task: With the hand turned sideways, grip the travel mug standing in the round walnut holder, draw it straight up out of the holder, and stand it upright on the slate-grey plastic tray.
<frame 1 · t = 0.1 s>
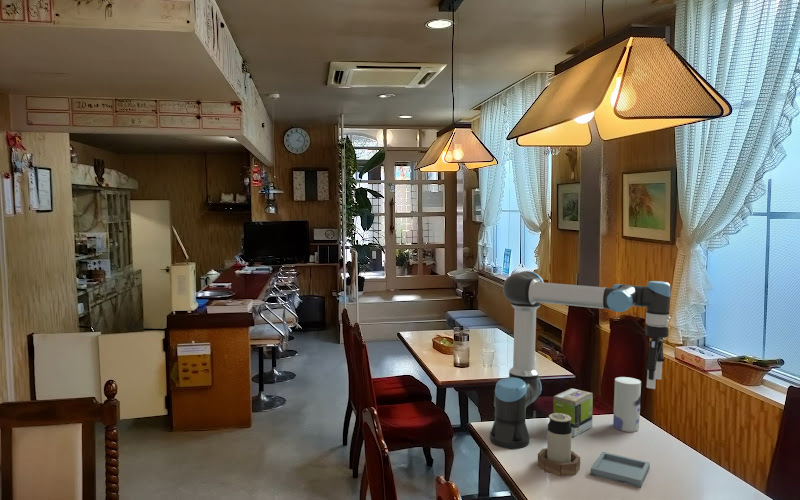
hand: (654, 383, 207), 28 cm above the table, tool pointing down, fingers open, 13 cm apart
mug holder: (558, 466, 202), on the table
tea box: (572, 429, 237), on the table
container: (626, 427, 239), on the table
travel mug: (558, 467, 202), resting in mug holder
tray: (620, 472, 199), on the table
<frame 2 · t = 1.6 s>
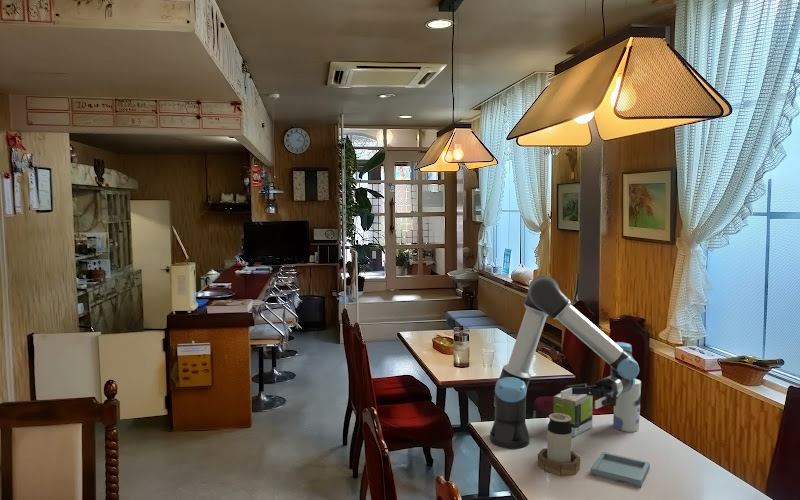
hand: (578, 400, 206), 22 cm above the table, tool horizontal, fingers open, 13 cm apart
nothing on the table moved.
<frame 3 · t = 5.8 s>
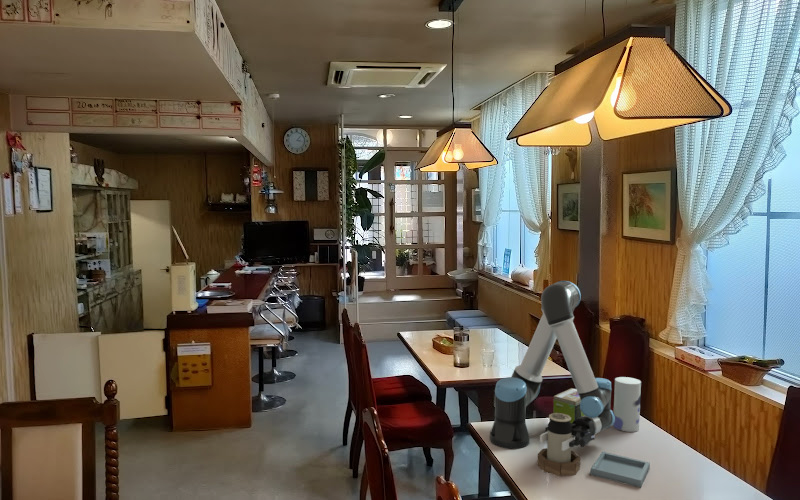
hand: (551, 442, 198), 10 cm above the table, tool horizontal, fingers closed on travel mug, 8 cm apart
travel mug: (558, 467, 202), resting in mug holder, touching gripper
everything else where it was.
when the fingers open (12 cm above the table, at t = 11.3 s): travel mug drops 1 cm, resting on tray.
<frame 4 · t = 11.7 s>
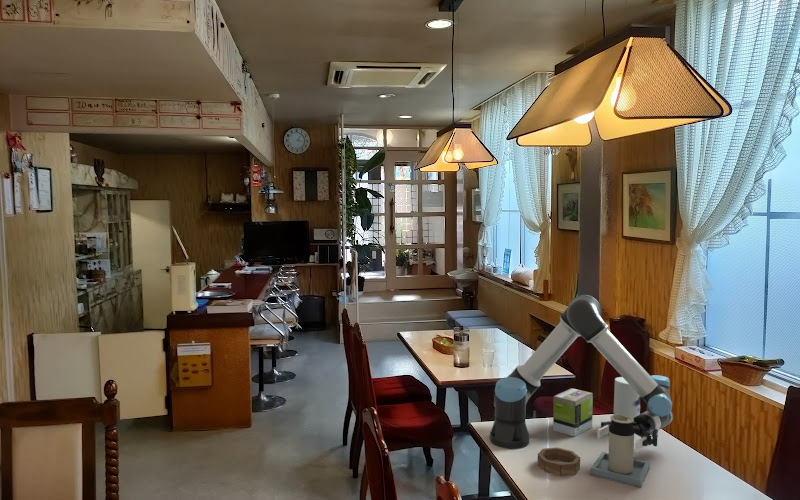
hand: (617, 439, 196), 12 cm above the table, tool horizontal, fingers open, 13 cm apart
travel mug: (620, 470, 199), point 1 cm above the table, touching tray
everything else where it was.
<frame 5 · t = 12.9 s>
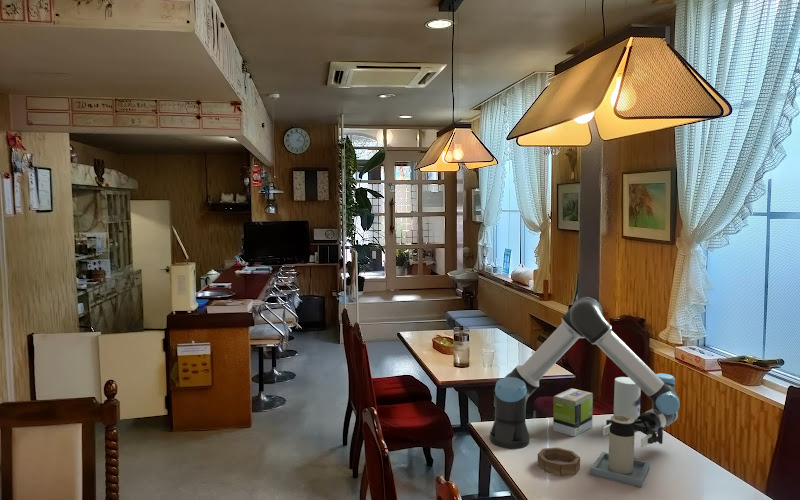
hand: (622, 437, 197), 12 cm above the table, tool horizontal, fingers open, 13 cm apart
nothing on the table moved.
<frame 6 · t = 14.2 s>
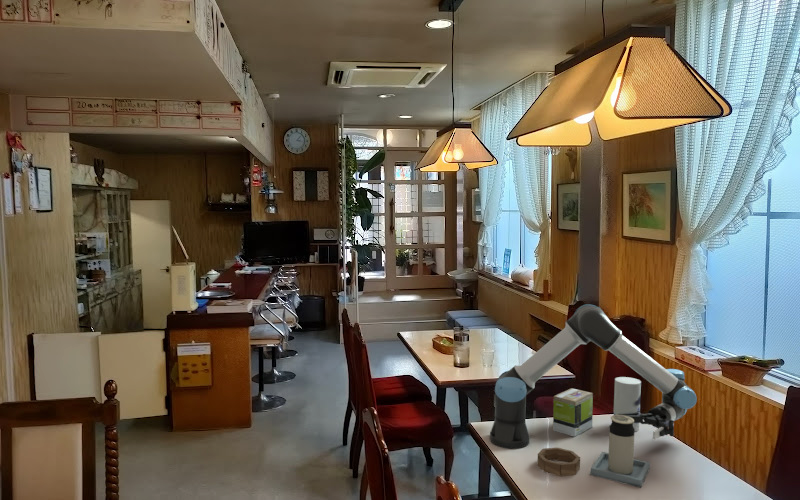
hand: (634, 430, 204), 12 cm above the table, tool horizontal, fingers open, 13 cm apart
nothing on the table moved.
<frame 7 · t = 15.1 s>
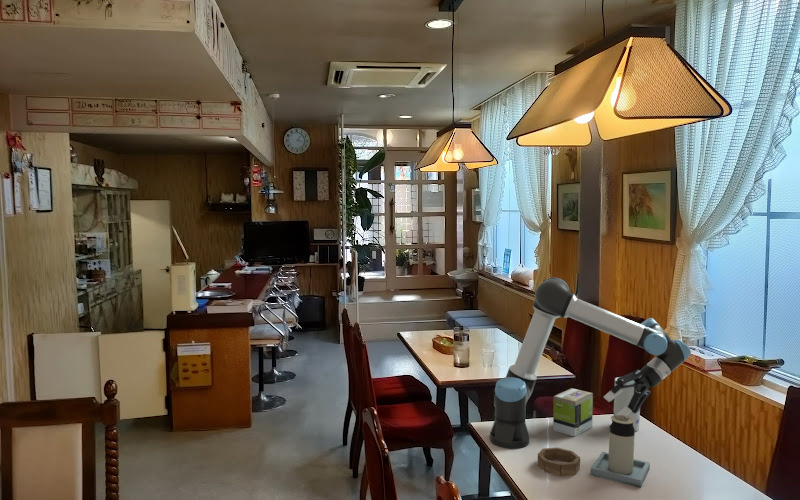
hand: (611, 410, 210), 17 cm above the table, tool tilted 55°, fingers open, 13 cm apart
nothing on the table moved.
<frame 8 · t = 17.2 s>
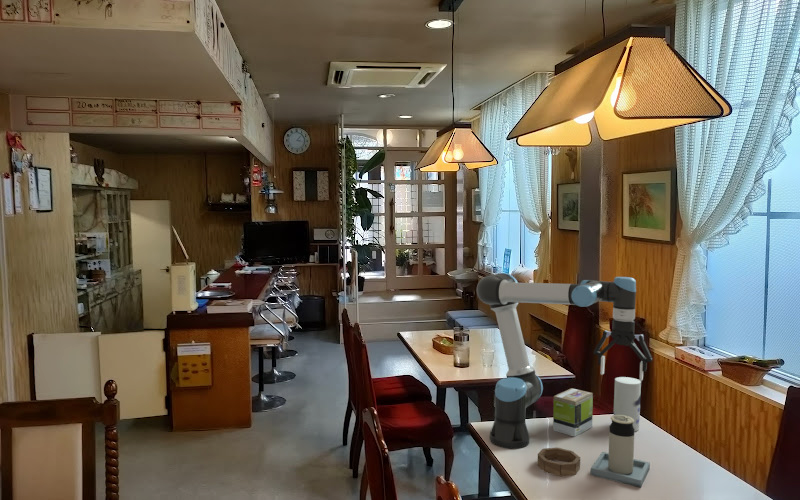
hand: (621, 376, 212), 29 cm above the table, tool pointing down, fingers open, 13 cm apart
nothing on the table moved.
at the end: travel mug inside the target area on the tray (0.0 cm from its centre), point 0.6 cm above the tray's base; travel mug tilted 0°; the gripper is holding nothing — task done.
